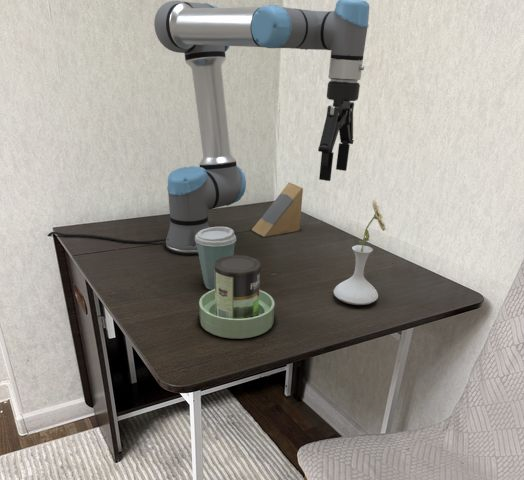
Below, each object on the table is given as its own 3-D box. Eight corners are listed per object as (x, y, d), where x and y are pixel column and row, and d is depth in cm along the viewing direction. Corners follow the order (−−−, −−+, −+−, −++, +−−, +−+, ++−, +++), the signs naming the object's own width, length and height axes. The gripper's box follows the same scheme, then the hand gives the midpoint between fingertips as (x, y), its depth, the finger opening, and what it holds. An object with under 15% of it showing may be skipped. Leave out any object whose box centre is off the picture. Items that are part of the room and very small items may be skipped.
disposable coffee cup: (205, 296, 123) (203, 240, 115) (190, 280, 131) (187, 227, 123) (242, 289, 127) (243, 234, 119) (226, 274, 135) (225, 222, 127)
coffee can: (262, 312, 116) (264, 257, 109) (253, 333, 107) (255, 275, 100) (221, 307, 118) (220, 252, 110) (209, 327, 109) (207, 269, 101)
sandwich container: (250, 229, 169) (251, 186, 161) (286, 223, 176) (288, 181, 168) (263, 237, 163) (264, 192, 155) (299, 230, 170) (303, 187, 162)
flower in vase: (367, 313, 118) (384, 212, 105) (325, 301, 123) (336, 203, 110) (385, 295, 127) (403, 200, 114) (345, 284, 132) (358, 192, 119)
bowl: (185, 326, 110) (184, 307, 107) (225, 298, 123) (225, 280, 120) (250, 347, 103) (250, 327, 100) (285, 315, 116) (287, 296, 113)
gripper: (343, 84, 102) (331, 187, 113) (373, 80, 121) (360, 167, 132) (310, 82, 104) (302, 182, 116) (344, 78, 123) (334, 164, 135)
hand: (333, 174), depth 124 cm, fingers open, 13 cm apart
